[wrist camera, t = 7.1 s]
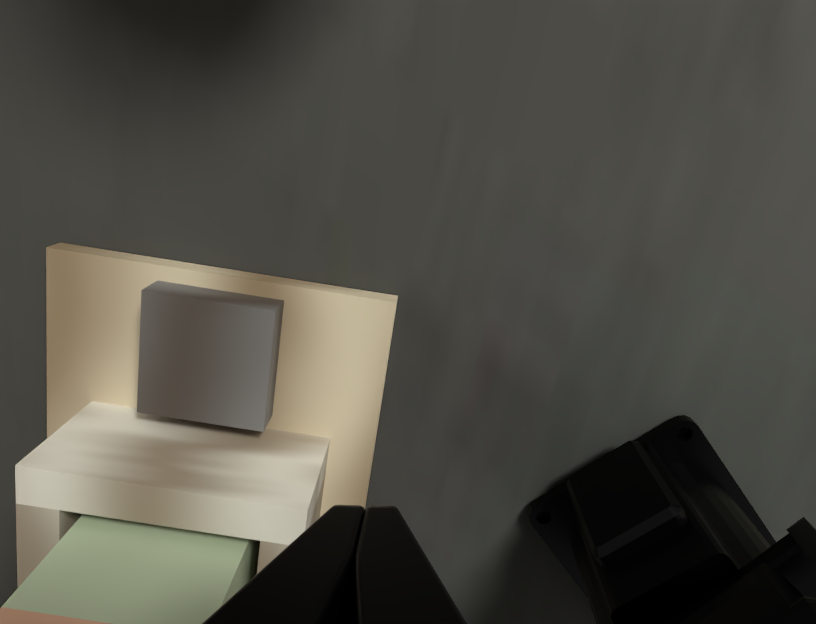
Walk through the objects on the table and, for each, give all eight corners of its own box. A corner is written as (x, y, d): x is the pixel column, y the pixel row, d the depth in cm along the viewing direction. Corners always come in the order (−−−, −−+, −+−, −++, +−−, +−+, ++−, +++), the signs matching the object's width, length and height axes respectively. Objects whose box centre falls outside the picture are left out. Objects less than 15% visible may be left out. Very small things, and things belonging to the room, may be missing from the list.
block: (272, 487, 21) (192, 672, 14) (259, 607, 23) (180, 831, 16) (126, 464, 21) (-28, 640, 14) (122, 586, 23) (-20, 802, 16)
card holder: (398, 295, 21) (388, 347, 16) (331, 723, 26) (309, 857, 22) (60, 242, 21) (-49, 279, 16) (59, 682, 26) (-24, 808, 21)
